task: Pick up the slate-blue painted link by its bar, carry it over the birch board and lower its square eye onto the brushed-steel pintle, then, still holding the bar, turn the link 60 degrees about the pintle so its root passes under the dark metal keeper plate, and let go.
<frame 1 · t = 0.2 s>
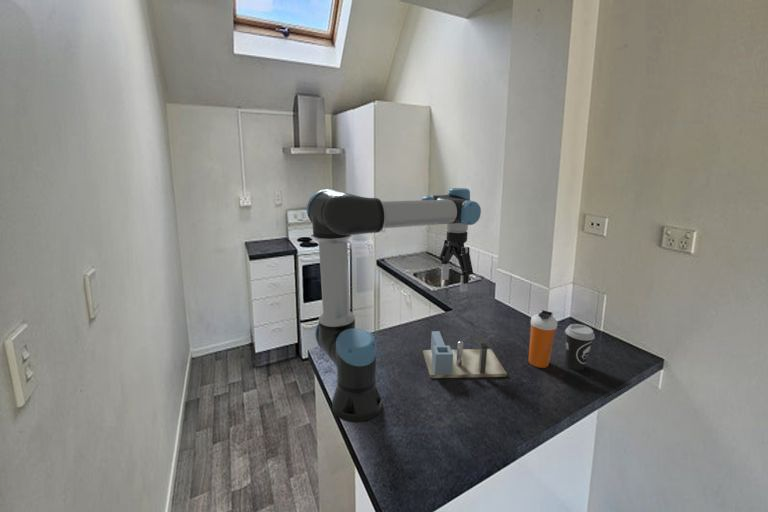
hand: (453, 285, 142), 27 cm above the countertop, fingers open, 13 cm apart
link: (437, 359, 139), point 1 cm above the countertop, touching board
pintle: (458, 367, 135), resting on board
keeper: (481, 374, 131), resting on board
board: (462, 364, 138), on the countertop
shaker bottle: (538, 363, 139), on the countertop
coffee cup: (574, 366, 138), on the countertop
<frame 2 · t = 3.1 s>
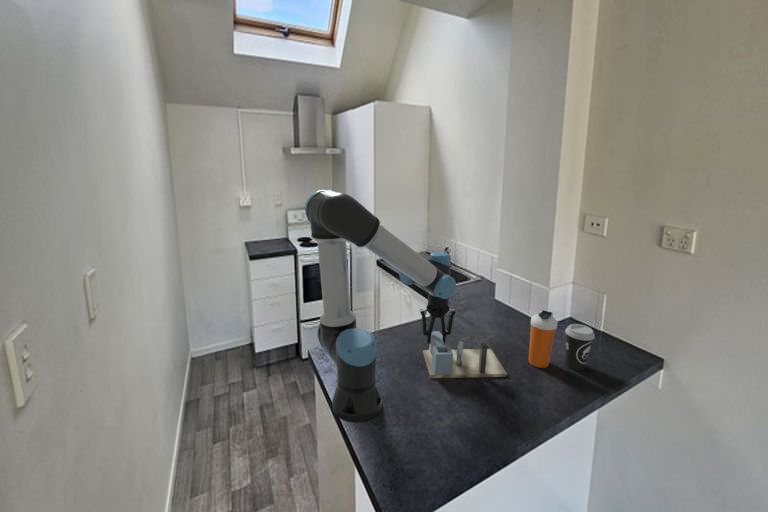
hand: (435, 350, 143), 2 cm above the countertop, fingers closed on link, 3 cm apart
link: (437, 359, 139), point 1 cm above the countertop, touching board, gripper
everything else where it was.
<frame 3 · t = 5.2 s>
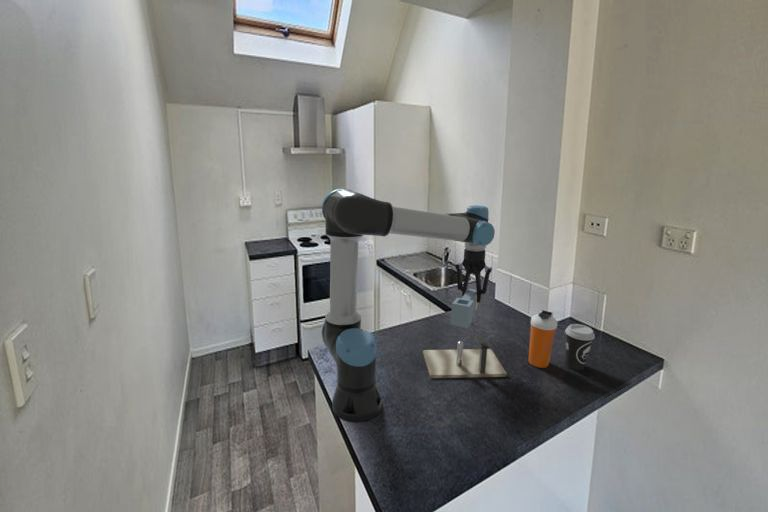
hand: (470, 308, 141), 19 cm above the countertop, fingers closed on link, 3 cm apart
link: (466, 315, 137), point 18 cm above the countertop, touching gripper
everything else where it was.
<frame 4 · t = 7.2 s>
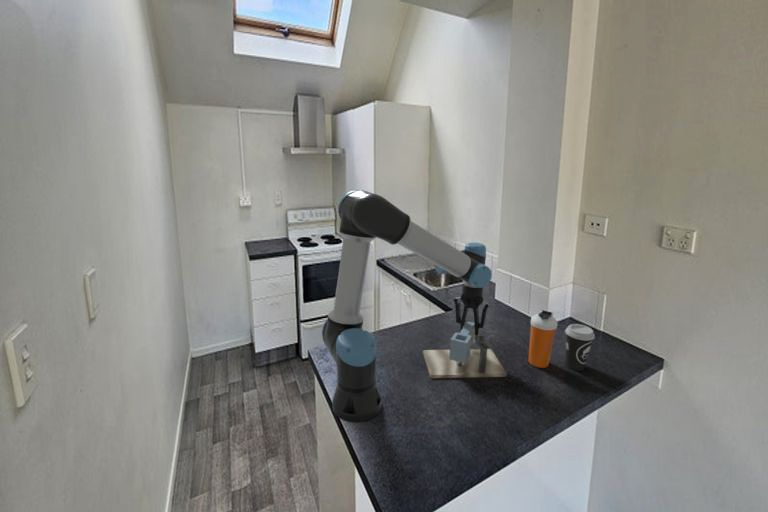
hand: (468, 341, 144), 5 cm above the countertop, fingers closed on link, 3 cm apart
link: (465, 348, 140), point 4 cm above the countertop, touching gripper
everything else where it was.
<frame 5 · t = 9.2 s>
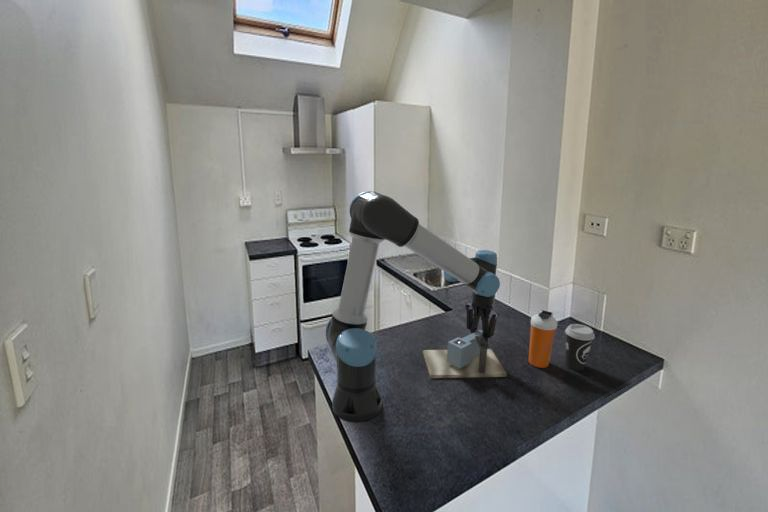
hand: (478, 349, 142), 3 cm above the countertop, fingers closed on link, 3 cm apart
link: (470, 355, 139), point 2 cm above the countertop, touching gripper
everything else where it was.
when the fingers open (3 cm above the countertop, at t = 11.2 s): link stays where it is, resting on board.
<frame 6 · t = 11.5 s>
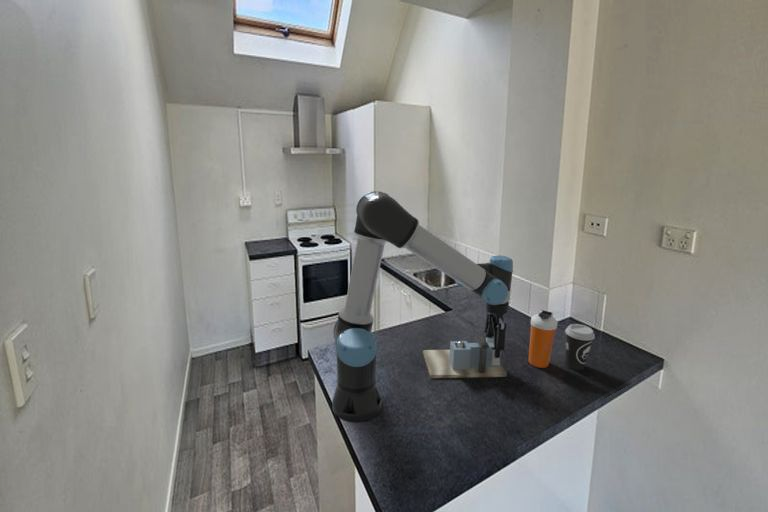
hand: (491, 358, 135), 3 cm above the countertop, fingers open, 7 cm apart
link: (478, 364, 135), point 1 cm above the countertop, touching board
everything else where it was.
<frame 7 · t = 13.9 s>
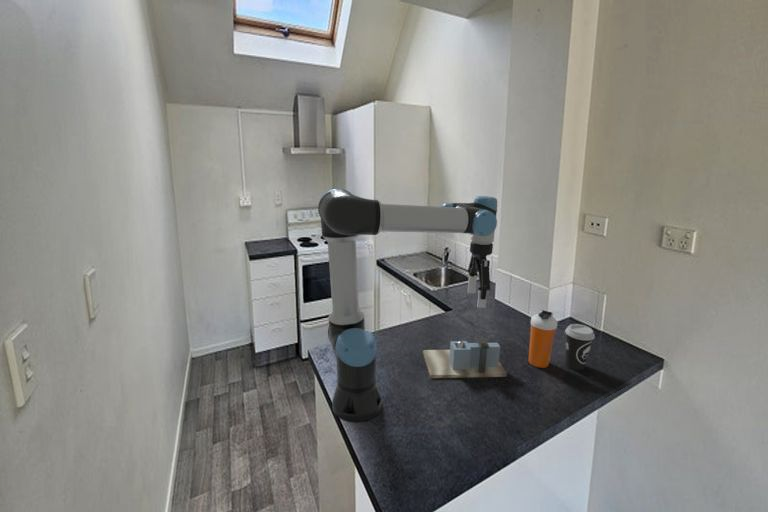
hand: (476, 299, 133), 25 cm above the countertop, fingers open, 13 cm apart
nothing on the countertop moved.
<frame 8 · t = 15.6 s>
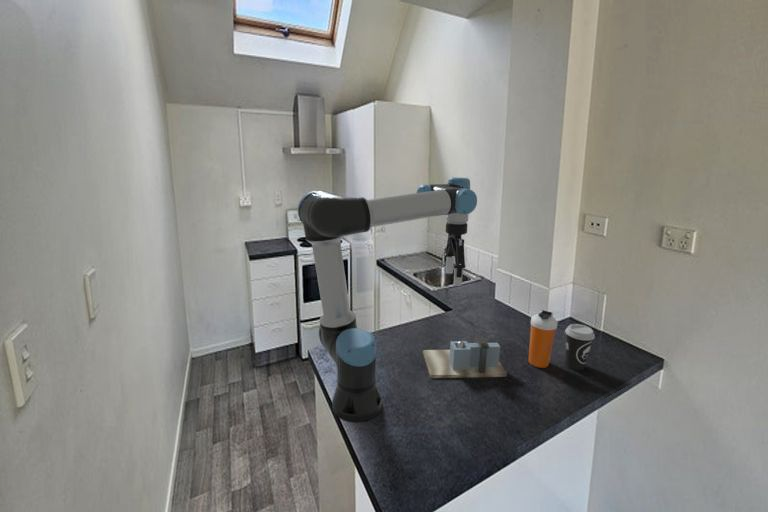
hand: (453, 279, 137), 31 cm above the countertop, fingers open, 13 cm apart
nothing on the countertop moved.
at the end: link 0.1 cm from the target spot on the countertop beside the pintle, point 1.2 cm above the countertop; link tilted 0°; the gripper is holding nothing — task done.
